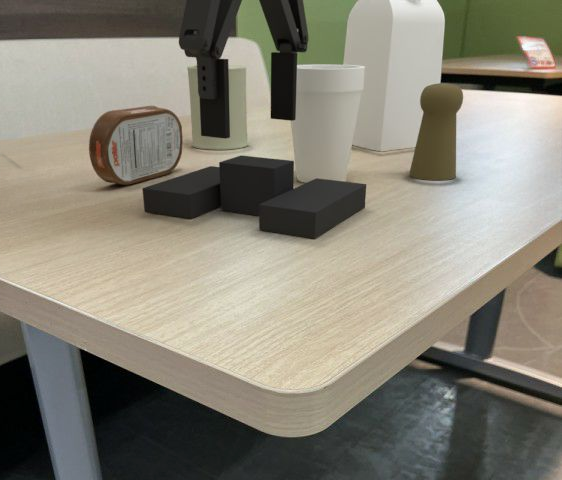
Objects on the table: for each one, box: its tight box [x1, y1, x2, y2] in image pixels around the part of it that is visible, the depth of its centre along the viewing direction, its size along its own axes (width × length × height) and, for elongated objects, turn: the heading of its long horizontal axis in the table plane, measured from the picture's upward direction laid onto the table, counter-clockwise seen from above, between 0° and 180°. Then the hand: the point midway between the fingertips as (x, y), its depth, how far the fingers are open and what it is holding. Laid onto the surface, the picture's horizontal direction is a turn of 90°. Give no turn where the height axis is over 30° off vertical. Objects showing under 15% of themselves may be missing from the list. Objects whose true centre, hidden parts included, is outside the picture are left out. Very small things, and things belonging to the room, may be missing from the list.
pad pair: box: [141, 165, 367, 240], centre depth 67 cm, size 20×13×2 cm, turn 62°
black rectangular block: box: [218, 155, 295, 217], centre depth 66 cm, size 6×4×5 cm
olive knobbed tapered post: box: [409, 82, 464, 181], centre depth 80 cm, size 6×6×11 cm
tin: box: [88, 105, 183, 186], centre depth 78 cm, size 15×3×8 cm, turn 150°
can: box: [186, 64, 249, 151], centre depth 99 cm, size 9×9×12 cm
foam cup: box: [290, 63, 365, 184], centre depth 77 cm, size 10×9×13 cm
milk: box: [342, 0, 446, 152], centre depth 98 cm, size 12×12×26 cm
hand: (252, 127), depth 63 cm, fingers open, 13 cm apart
